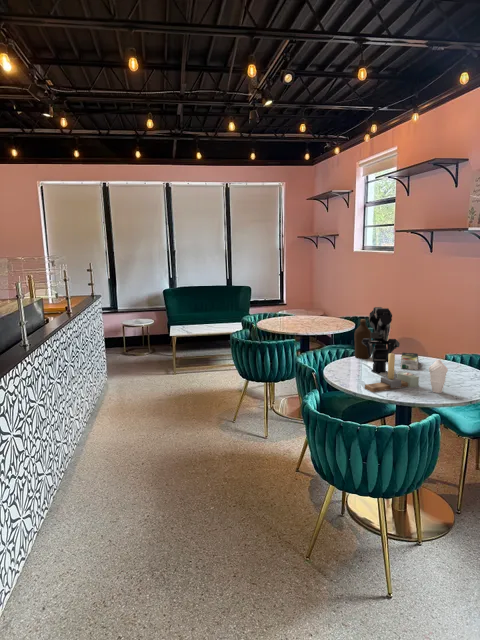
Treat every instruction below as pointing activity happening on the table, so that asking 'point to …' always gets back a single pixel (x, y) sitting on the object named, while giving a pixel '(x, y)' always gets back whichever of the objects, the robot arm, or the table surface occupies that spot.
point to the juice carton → (409, 361)
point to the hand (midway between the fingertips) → (377, 357)
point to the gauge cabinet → (409, 379)
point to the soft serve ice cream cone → (437, 376)
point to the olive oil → (359, 335)
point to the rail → (382, 386)
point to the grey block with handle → (391, 373)
